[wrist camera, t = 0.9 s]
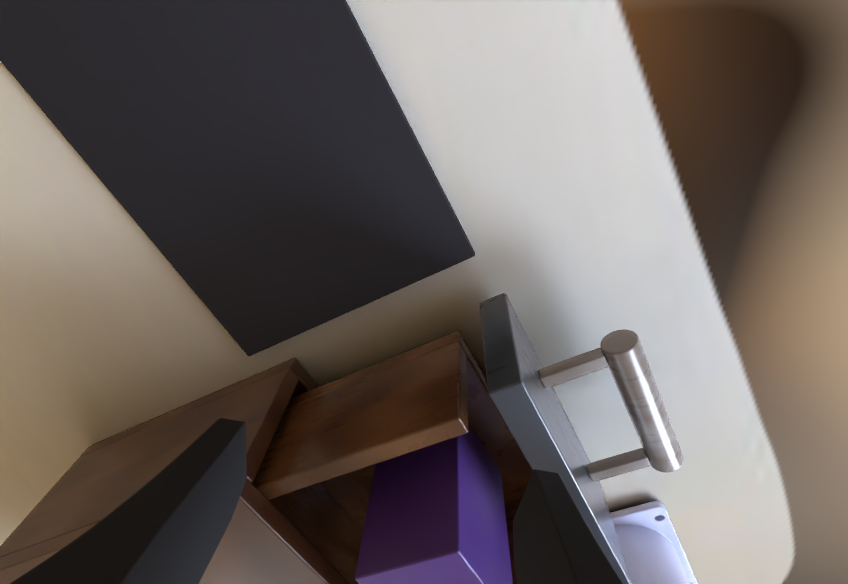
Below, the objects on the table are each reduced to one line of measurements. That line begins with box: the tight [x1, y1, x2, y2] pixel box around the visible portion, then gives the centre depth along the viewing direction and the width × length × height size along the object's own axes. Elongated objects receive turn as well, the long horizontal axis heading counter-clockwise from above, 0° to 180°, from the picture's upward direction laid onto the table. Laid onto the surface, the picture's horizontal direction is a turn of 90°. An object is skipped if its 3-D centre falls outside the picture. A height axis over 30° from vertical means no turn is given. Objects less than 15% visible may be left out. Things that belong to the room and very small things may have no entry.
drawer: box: [252, 293, 683, 584], centre depth 21 cm, size 18×12×6 cm
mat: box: [0, 0, 475, 356], centre depth 18 cm, size 18×12×1 cm, turn 28°
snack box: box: [355, 421, 513, 584], centre depth 20 cm, size 5×4×7 cm
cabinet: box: [0, 359, 350, 584], centre depth 24 cm, size 15×14×8 cm
